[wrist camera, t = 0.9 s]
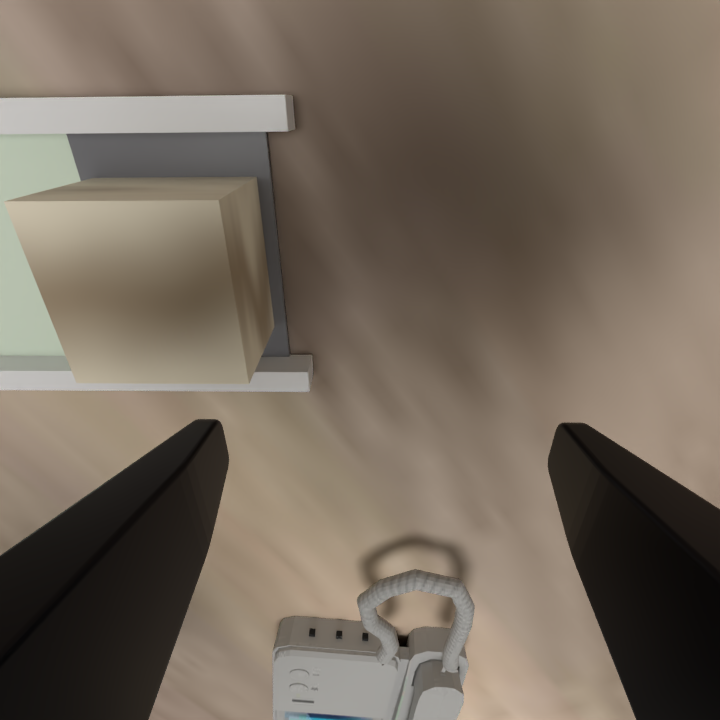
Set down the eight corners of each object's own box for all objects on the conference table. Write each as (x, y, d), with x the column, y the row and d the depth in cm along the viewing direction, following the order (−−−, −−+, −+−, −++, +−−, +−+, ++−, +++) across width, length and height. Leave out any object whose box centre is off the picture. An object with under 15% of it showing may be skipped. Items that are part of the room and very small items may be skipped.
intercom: (523, 609, 22) (433, 788, 35) (501, 536, 26) (428, 722, 39) (263, 587, 22) (267, 776, 35) (279, 516, 26) (278, 710, 38)
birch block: (274, 326, 19) (249, 384, 15) (137, 326, 19) (76, 383, 15) (256, 176, 16) (218, 200, 12) (93, 177, 16) (3, 201, 12)
